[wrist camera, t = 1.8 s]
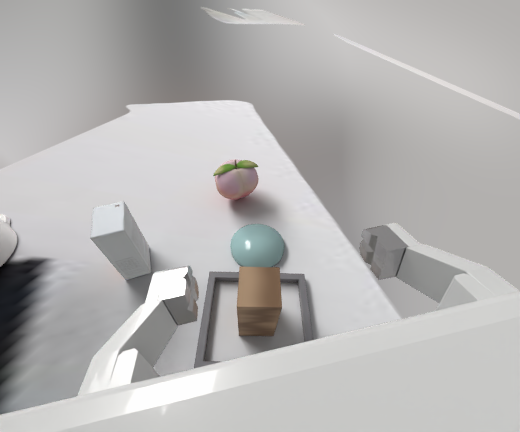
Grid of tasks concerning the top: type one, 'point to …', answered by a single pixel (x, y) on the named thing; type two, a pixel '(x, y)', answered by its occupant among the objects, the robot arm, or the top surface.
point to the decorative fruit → (236, 178)
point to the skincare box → (120, 240)
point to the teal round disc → (257, 246)
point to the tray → (235, 277)
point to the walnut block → (258, 300)
